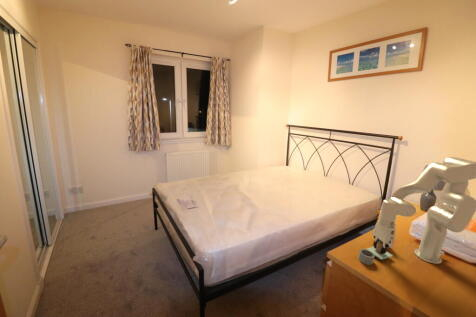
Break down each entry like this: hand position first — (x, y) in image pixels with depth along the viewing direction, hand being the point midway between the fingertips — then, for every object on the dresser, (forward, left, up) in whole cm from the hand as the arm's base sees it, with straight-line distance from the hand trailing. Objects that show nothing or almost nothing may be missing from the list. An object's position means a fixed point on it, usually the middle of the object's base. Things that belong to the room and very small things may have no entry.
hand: (379, 250), depth 130 cm
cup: (+12, +3, -3) cm, 13 cm away
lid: (0, 0, -2) cm, 2 cm away
